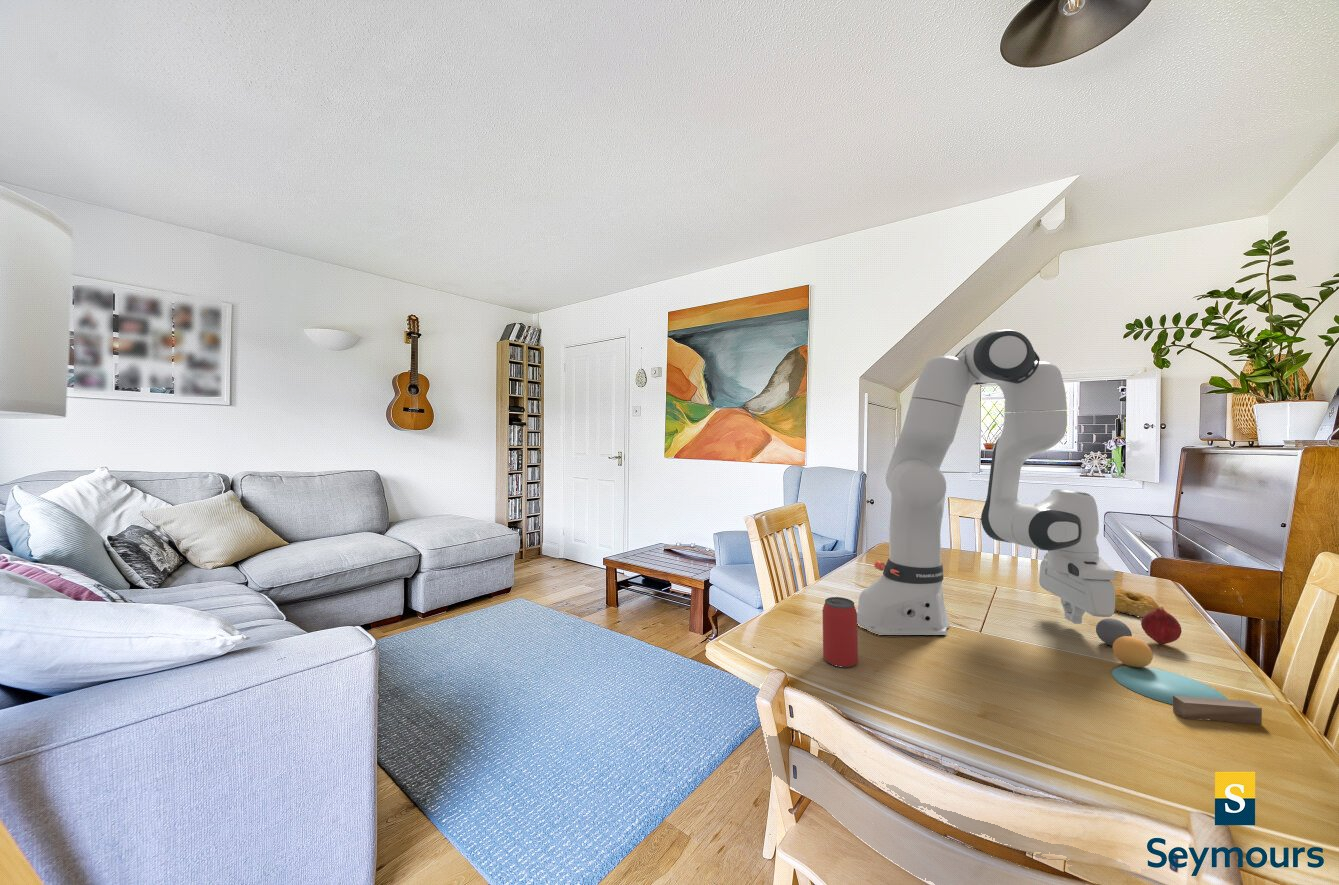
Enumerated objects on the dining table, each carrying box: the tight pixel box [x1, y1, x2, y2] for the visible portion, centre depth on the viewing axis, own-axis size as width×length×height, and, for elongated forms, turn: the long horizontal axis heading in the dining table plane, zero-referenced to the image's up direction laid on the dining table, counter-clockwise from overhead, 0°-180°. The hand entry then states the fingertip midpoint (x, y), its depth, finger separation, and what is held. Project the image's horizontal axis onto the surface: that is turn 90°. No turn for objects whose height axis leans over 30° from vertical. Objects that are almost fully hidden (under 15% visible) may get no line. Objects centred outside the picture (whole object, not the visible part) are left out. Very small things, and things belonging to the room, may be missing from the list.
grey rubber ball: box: [1095, 618, 1133, 647], centre depth 98 cm, size 6×6×6 cm
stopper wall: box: [1172, 696, 1263, 725], centre depth 74 cm, size 2×10×2 cm, turn 79°
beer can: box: [822, 596, 859, 668], centre depth 94 cm, size 7×7×12 cm
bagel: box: [1114, 587, 1160, 618], centre depth 117 cm, size 10×11×5 cm
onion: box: [1140, 605, 1182, 646], centre depth 99 cm, size 6×6×8 cm
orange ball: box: [1112, 636, 1154, 668], centre depth 90 cm, size 6×6×6 cm
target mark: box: [1111, 665, 1228, 706], centre depth 83 cm, size 14×14×1 cm
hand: (1073, 621), depth 107 cm, fingers closed
